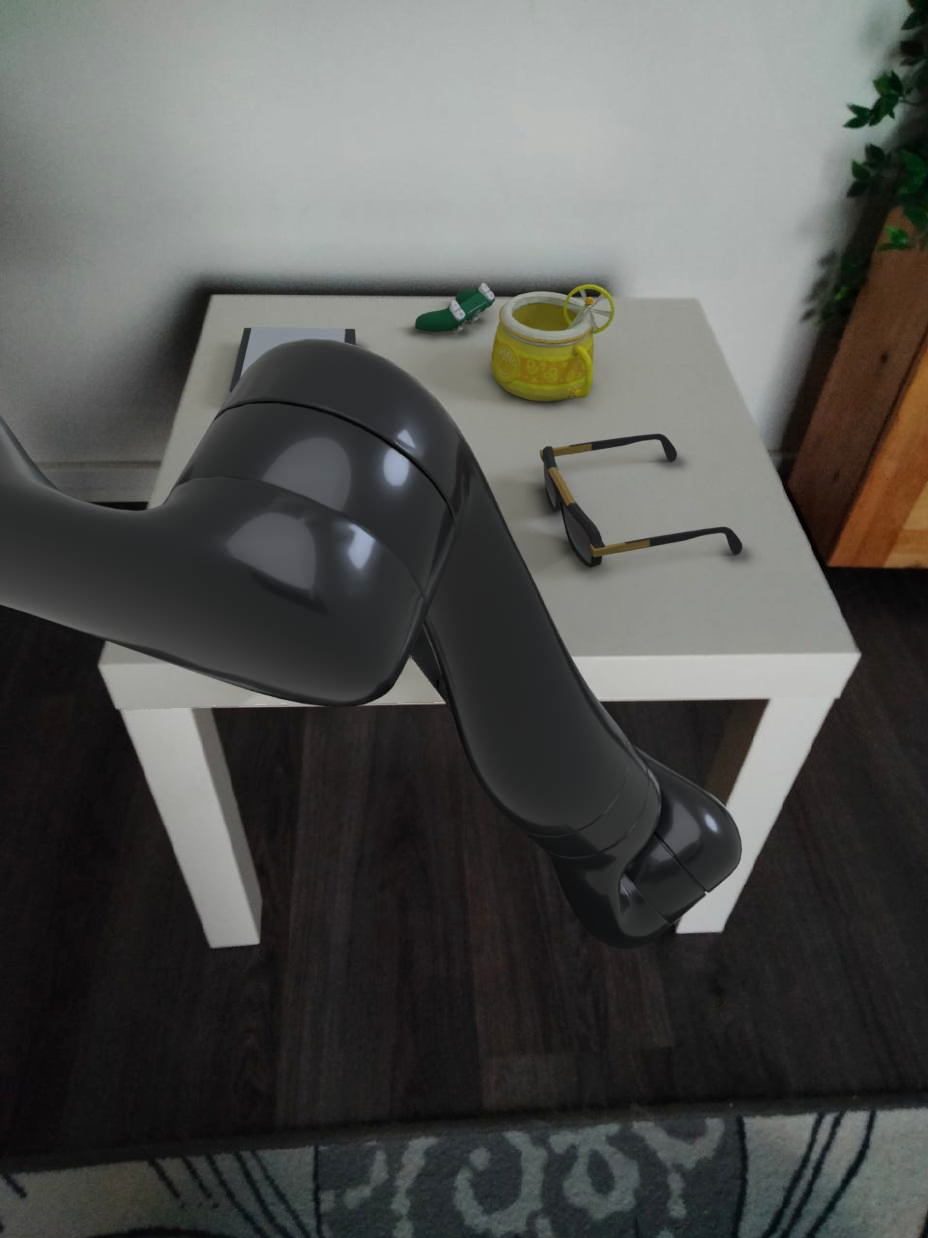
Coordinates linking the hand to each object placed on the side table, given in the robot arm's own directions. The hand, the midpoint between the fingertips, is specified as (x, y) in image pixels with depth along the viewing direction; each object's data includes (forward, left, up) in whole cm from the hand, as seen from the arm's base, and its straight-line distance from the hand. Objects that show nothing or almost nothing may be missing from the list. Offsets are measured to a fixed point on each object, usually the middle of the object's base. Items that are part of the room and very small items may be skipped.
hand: (375, 532), depth 70 cm
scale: (+18, +27, -6) cm, 33 cm away
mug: (+34, +6, -6) cm, 35 cm away
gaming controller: (+38, +21, -6) cm, 44 cm away
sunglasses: (+21, -12, -6) cm, 25 cm away
